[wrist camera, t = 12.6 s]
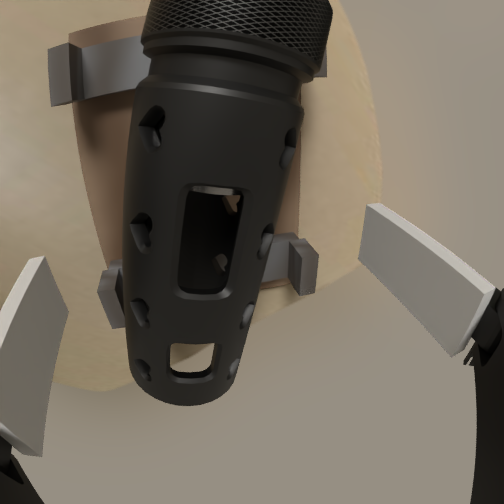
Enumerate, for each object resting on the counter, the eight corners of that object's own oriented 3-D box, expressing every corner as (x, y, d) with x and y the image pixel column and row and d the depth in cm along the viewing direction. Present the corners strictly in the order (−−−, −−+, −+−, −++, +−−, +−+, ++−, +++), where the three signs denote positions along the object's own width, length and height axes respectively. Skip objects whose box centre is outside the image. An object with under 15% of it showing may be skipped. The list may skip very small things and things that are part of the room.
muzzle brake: (128, 316, 26) (124, 409, 18) (166, -13, 14) (168, -85, 5) (225, 318, 29) (252, 405, 21) (293, 12, 17) (376, -25, 8)
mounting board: (123, 306, 28) (119, 344, 24) (72, 35, 15) (48, 22, 10) (292, 277, 32) (312, 309, 27) (293, 15, 19) (324, 0, 14)
